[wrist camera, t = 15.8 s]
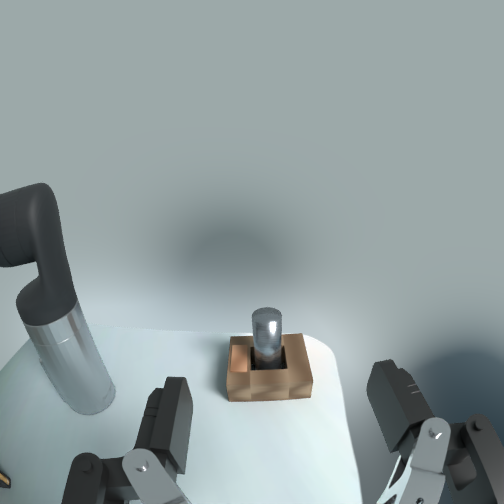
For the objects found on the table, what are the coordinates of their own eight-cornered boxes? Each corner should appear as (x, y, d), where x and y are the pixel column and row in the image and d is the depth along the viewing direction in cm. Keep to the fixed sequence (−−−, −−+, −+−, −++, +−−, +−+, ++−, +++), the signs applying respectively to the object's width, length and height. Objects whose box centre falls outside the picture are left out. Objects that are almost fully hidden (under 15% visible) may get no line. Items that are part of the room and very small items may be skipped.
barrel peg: (256, 384, 40) (252, 324, 36) (255, 367, 44) (251, 308, 40) (282, 383, 40) (282, 323, 36) (279, 366, 44) (280, 306, 39)
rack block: (228, 401, 37) (226, 383, 36) (232, 353, 47) (230, 335, 46) (310, 397, 37) (313, 379, 35) (300, 350, 47) (302, 332, 46)
